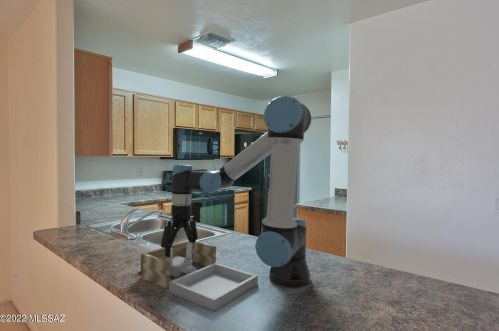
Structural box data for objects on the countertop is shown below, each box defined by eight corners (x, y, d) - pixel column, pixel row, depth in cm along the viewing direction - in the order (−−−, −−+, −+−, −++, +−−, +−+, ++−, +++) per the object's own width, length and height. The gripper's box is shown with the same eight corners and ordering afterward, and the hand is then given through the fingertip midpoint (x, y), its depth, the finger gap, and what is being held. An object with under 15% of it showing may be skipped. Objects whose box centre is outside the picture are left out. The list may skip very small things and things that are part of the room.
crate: (215, 267, 118) (216, 245, 118) (166, 288, 99) (167, 262, 99) (190, 259, 128) (190, 239, 127) (140, 277, 108) (140, 253, 108)
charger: (186, 282, 104) (159, 272, 112) (203, 274, 112) (177, 265, 120) (186, 269, 104) (159, 260, 112) (204, 262, 112) (177, 254, 120)
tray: (257, 285, 102) (257, 275, 102) (214, 311, 84) (214, 300, 84) (215, 271, 114) (215, 262, 114) (169, 292, 96) (169, 281, 96)
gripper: (195, 200, 123) (193, 252, 124) (151, 206, 106) (149, 266, 106) (208, 202, 119) (206, 256, 119) (164, 209, 101) (162, 272, 102)
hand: (179, 261), depth 113 cm, fingers closed on charger, 9 cm apart
